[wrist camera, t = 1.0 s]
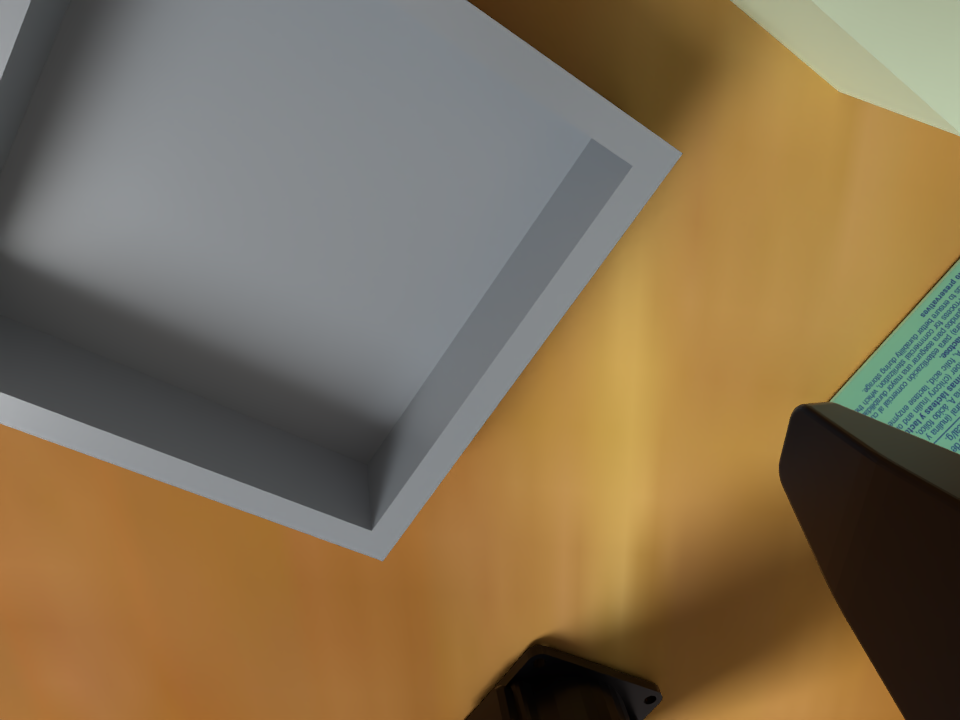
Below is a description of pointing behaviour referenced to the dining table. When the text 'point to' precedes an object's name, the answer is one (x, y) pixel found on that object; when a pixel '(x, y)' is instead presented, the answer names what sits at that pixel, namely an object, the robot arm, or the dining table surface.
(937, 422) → the milk carton
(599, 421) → the dining table surface
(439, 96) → the slate bin
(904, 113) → the sage cube
